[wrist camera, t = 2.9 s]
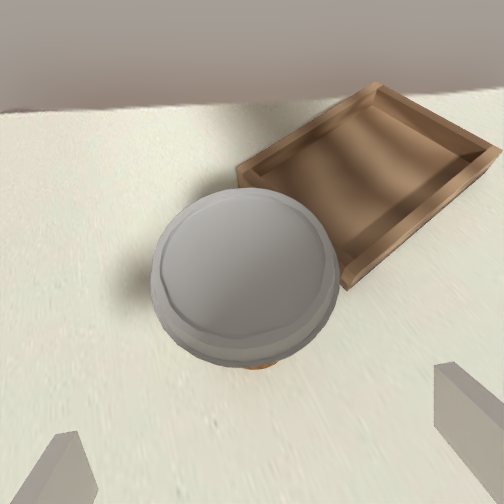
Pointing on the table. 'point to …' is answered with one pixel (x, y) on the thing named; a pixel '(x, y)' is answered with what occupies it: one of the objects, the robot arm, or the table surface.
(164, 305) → the disposable coffee cup
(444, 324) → the table surface
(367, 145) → the trough tray
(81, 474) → the robot arm
